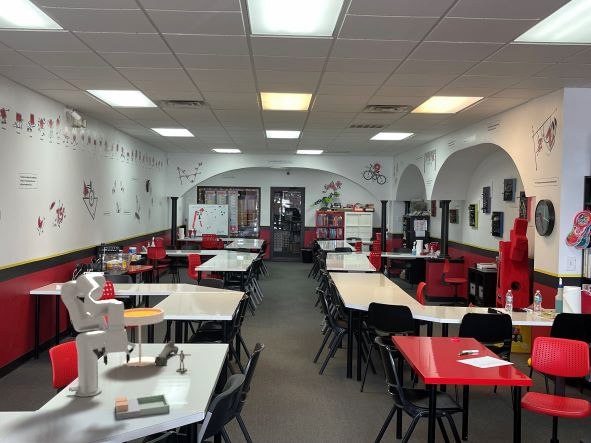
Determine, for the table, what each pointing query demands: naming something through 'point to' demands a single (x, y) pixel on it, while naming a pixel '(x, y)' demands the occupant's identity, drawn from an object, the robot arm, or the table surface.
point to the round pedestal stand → (140, 318)
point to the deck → (129, 410)
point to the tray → (153, 404)
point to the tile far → (121, 399)
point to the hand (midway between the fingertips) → (116, 363)
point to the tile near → (122, 406)
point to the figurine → (182, 361)
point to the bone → (166, 353)
